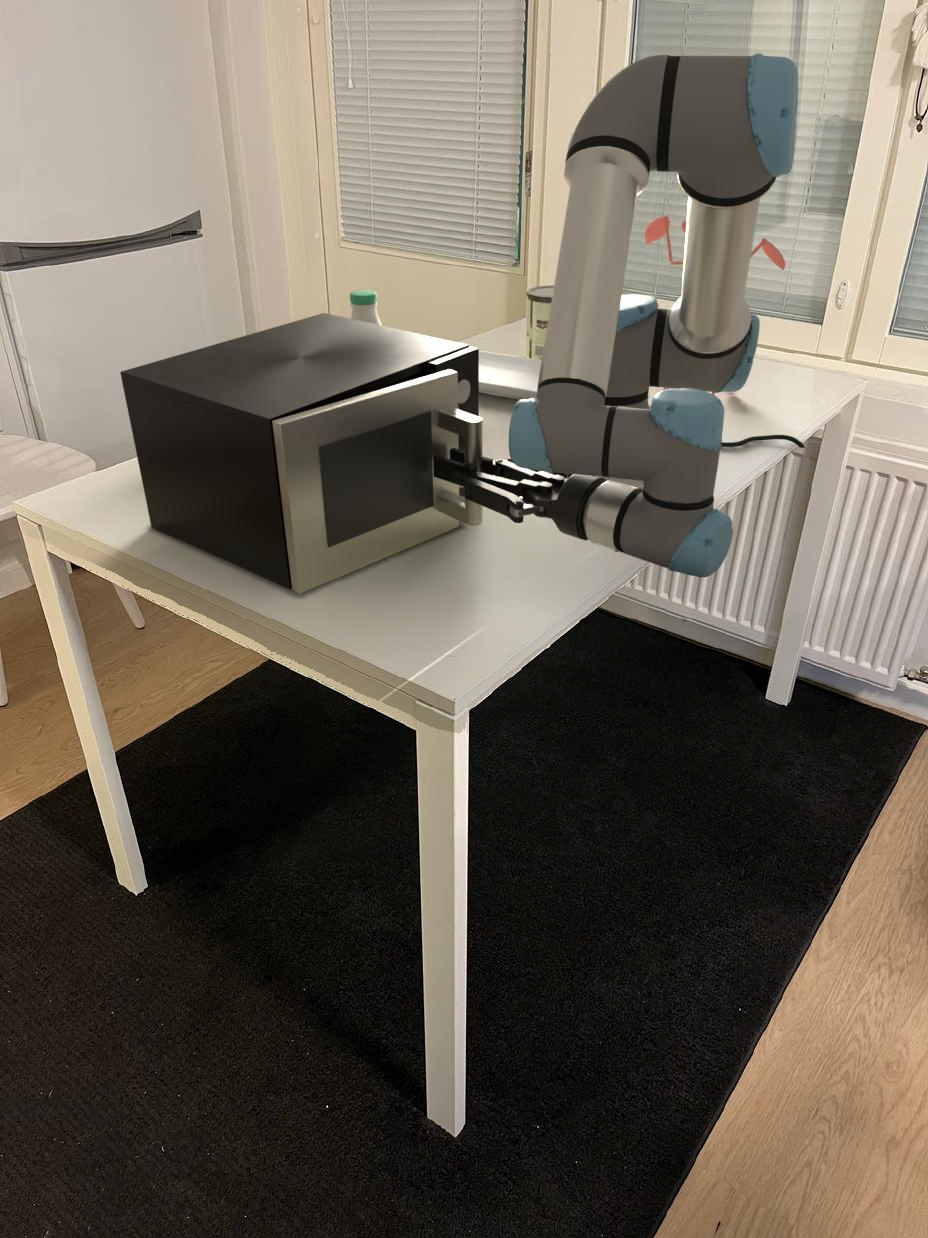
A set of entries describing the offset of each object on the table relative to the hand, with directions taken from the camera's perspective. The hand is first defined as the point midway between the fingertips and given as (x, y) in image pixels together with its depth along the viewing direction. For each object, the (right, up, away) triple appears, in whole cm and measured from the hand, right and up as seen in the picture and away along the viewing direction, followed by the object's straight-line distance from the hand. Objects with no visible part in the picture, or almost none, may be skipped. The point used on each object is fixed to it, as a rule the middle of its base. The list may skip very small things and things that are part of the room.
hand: (443, 462), depth 123 cm
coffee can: (+20, +32, +72) cm, 82 cm away
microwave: (-18, -5, +13) cm, 22 cm away
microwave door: (-6, -13, -1) cm, 15 cm away
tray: (+7, +25, +61) cm, 66 cm away
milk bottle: (-15, +19, +51) cm, 56 cm away
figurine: (+47, +24, +58) cm, 79 cm away
